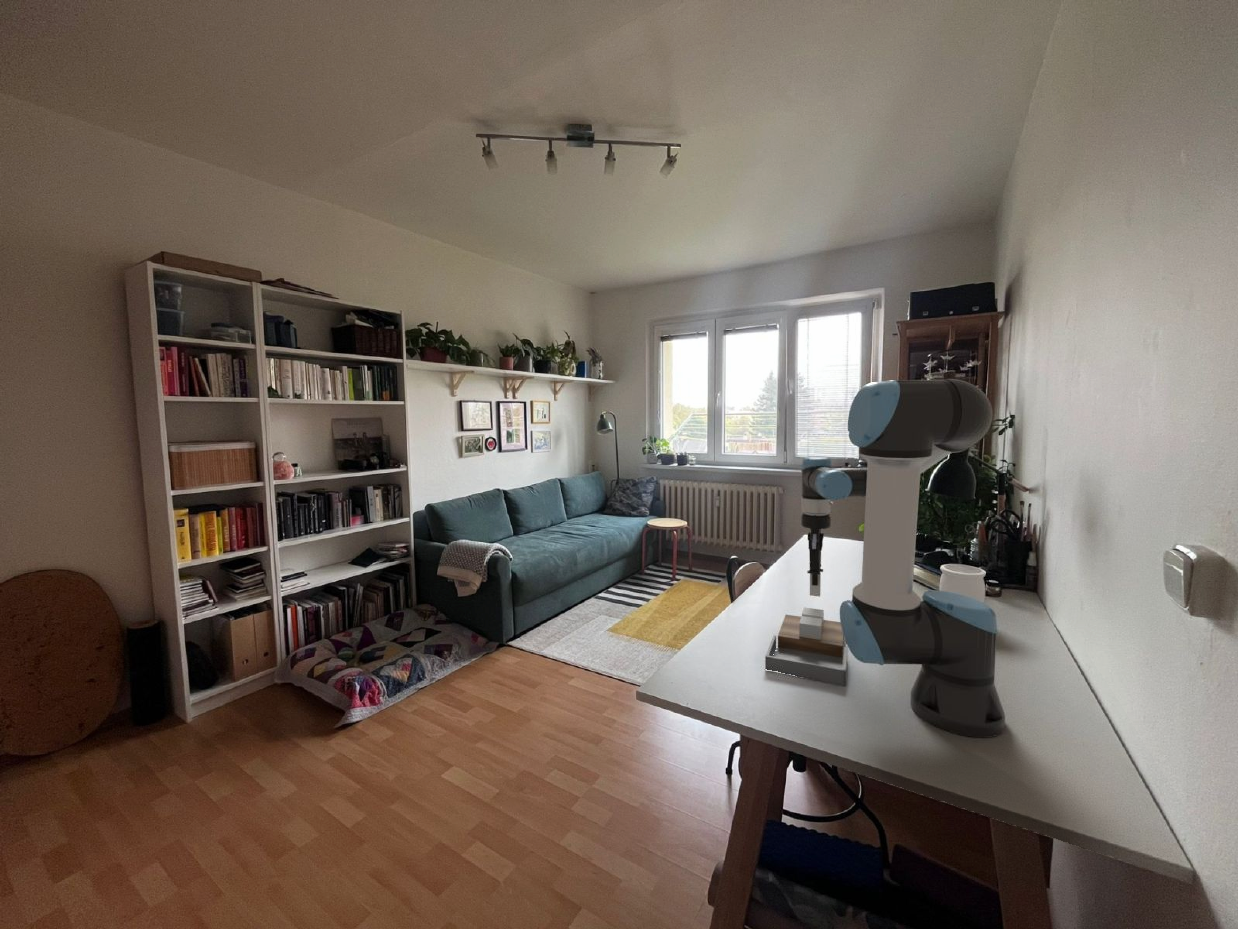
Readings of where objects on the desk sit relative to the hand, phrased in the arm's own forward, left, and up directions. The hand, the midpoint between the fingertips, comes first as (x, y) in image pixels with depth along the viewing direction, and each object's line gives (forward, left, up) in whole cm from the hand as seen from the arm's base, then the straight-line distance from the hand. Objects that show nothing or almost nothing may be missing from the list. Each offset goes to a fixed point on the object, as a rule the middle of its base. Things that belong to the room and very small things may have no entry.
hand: (815, 595), depth 138 cm
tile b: (-9, 0, -5) cm, 10 cm away
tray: (-26, 0, -9) cm, 27 cm away
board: (-12, 0, -9) cm, 15 cm away
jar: (+19, -37, -9) cm, 43 cm away
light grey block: (-15, 0, -5) cm, 16 cm away
